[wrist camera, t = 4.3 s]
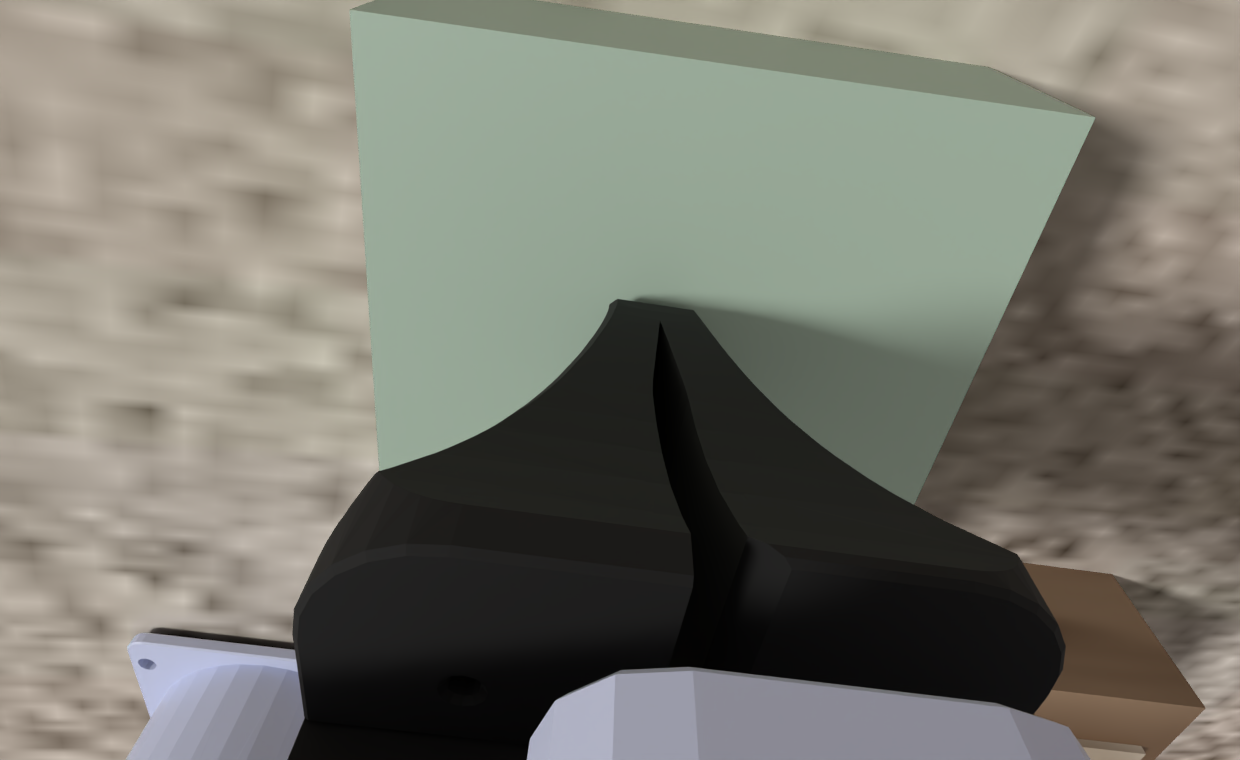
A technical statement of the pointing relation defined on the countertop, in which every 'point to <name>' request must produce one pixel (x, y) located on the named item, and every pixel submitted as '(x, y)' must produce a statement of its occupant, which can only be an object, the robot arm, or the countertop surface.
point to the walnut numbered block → (1111, 670)
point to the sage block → (689, 214)
